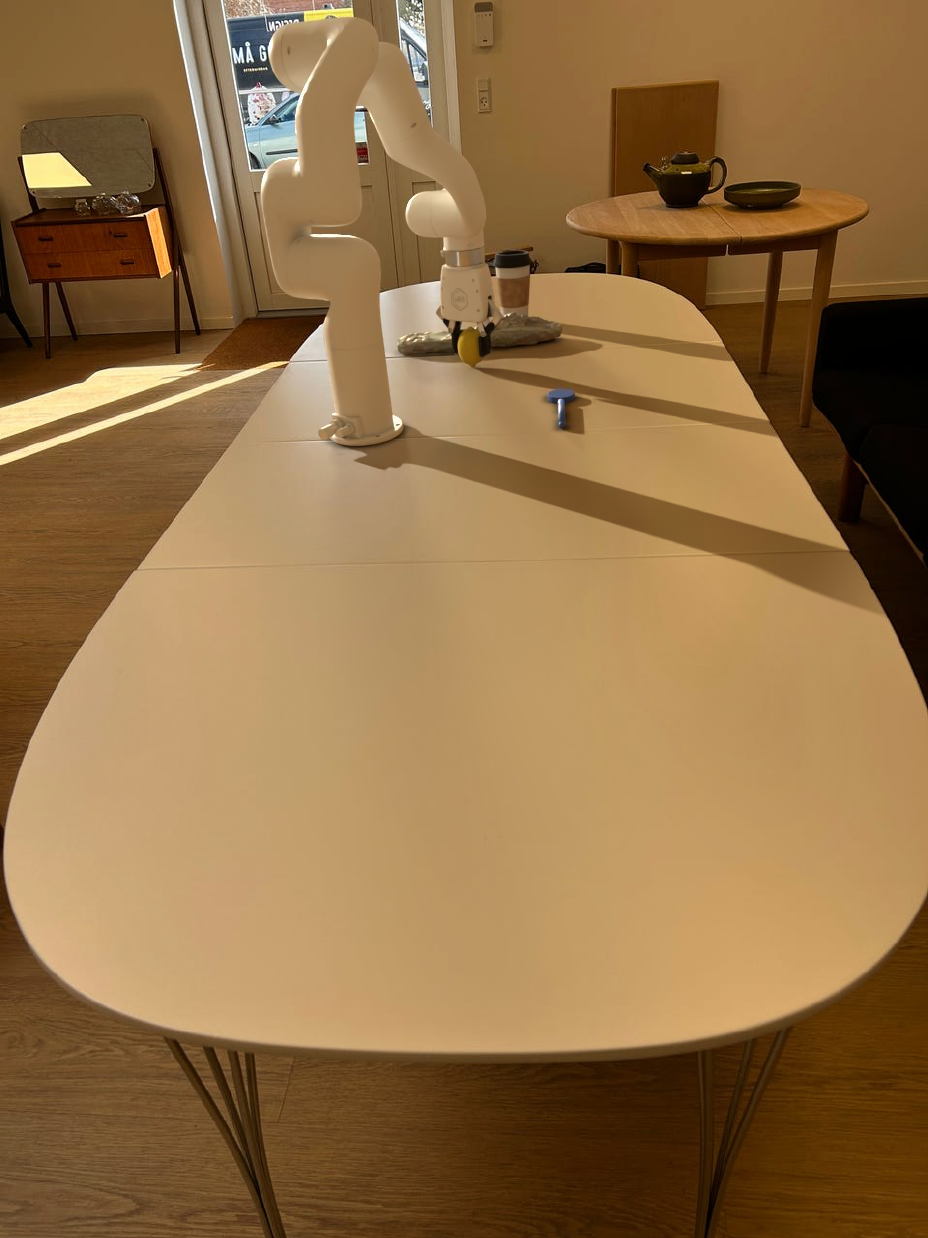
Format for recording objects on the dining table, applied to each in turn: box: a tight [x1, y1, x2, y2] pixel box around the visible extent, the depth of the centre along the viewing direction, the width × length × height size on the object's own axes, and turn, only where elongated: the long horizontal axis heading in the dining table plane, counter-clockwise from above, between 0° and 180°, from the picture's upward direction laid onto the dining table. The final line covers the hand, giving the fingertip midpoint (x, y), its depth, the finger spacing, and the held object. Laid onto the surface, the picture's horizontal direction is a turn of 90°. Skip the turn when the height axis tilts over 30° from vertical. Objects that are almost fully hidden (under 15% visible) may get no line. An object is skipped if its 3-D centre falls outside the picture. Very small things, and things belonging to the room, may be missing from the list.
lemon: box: [457, 326, 485, 368], centre depth 183 cm, size 6×6×8 cm
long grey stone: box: [396, 312, 563, 356], centre depth 197 cm, size 35×5×10 cm
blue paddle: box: [547, 388, 576, 430], centre depth 160 cm, size 18×5×1 cm, turn 176°
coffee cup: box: [493, 249, 532, 316], centre depth 208 cm, size 8×8×15 cm
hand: (472, 352), depth 184 cm, fingers closed on lemon, 5 cm apart
